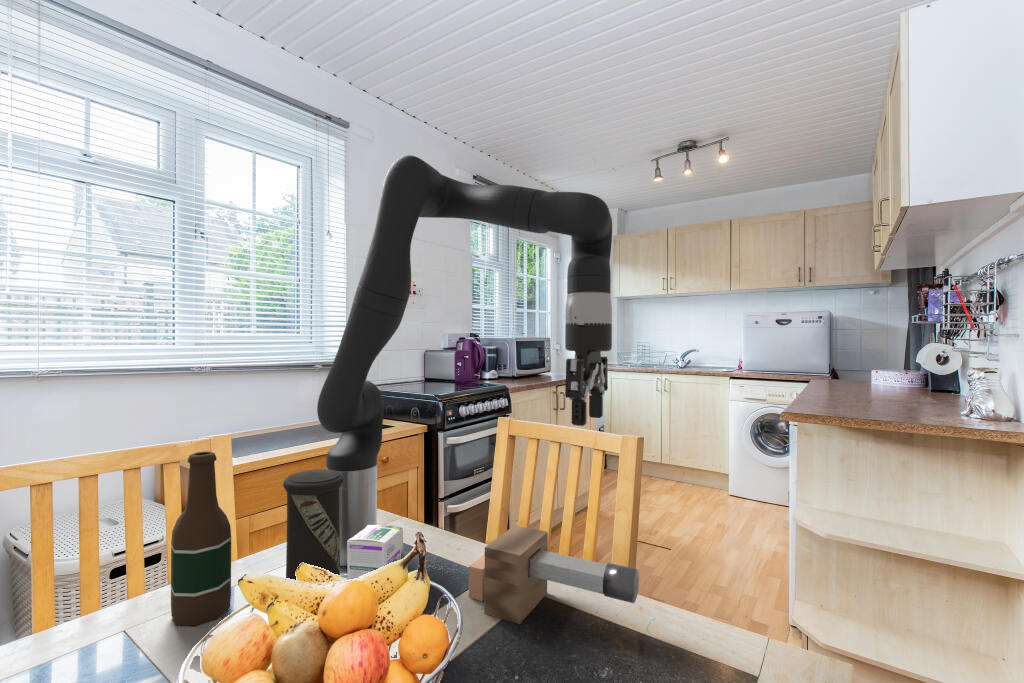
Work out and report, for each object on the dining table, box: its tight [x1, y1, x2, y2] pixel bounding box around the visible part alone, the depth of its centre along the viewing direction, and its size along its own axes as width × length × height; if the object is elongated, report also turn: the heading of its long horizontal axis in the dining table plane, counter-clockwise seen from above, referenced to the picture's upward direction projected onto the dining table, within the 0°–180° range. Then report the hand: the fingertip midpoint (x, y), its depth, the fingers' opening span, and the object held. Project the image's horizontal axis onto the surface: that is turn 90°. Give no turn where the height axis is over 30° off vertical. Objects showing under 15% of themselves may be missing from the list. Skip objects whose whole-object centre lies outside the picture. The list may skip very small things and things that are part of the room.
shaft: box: [528, 549, 640, 604], centre depth 73 cm, size 20×4×4 cm, turn 63°
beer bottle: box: [170, 451, 232, 628], centre depth 73 cm, size 8×8×24 cm
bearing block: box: [483, 524, 549, 625], centre depth 77 cm, size 6×10×10 cm, turn 153°
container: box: [282, 468, 343, 580], centre depth 78 cm, size 9×9×20 cm
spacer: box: [468, 553, 485, 602], centre depth 80 cm, size 5×5×2 cm
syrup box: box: [346, 524, 404, 580], centre depth 68 cm, size 6×6×14 cm
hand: (587, 421), depth 80 cm, fingers open, 8 cm apart
